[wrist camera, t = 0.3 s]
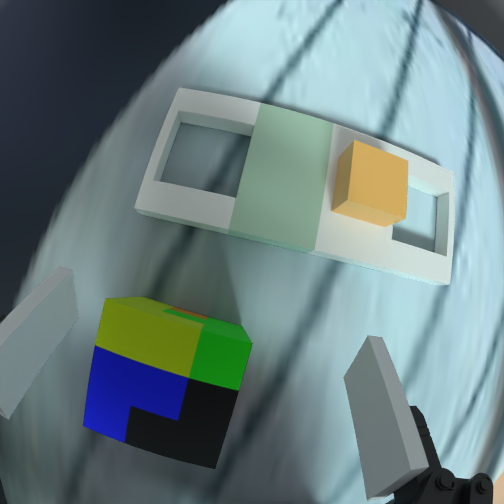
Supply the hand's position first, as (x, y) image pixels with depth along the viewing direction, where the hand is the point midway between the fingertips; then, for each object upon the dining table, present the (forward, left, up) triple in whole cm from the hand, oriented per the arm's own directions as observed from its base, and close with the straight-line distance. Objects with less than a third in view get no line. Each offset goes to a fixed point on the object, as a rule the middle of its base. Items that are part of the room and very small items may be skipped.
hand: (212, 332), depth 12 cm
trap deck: (+14, -7, -16) cm, 23 cm away
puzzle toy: (-6, +3, -17) cm, 18 cm away
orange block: (+14, -11, -14) cm, 23 cm away
